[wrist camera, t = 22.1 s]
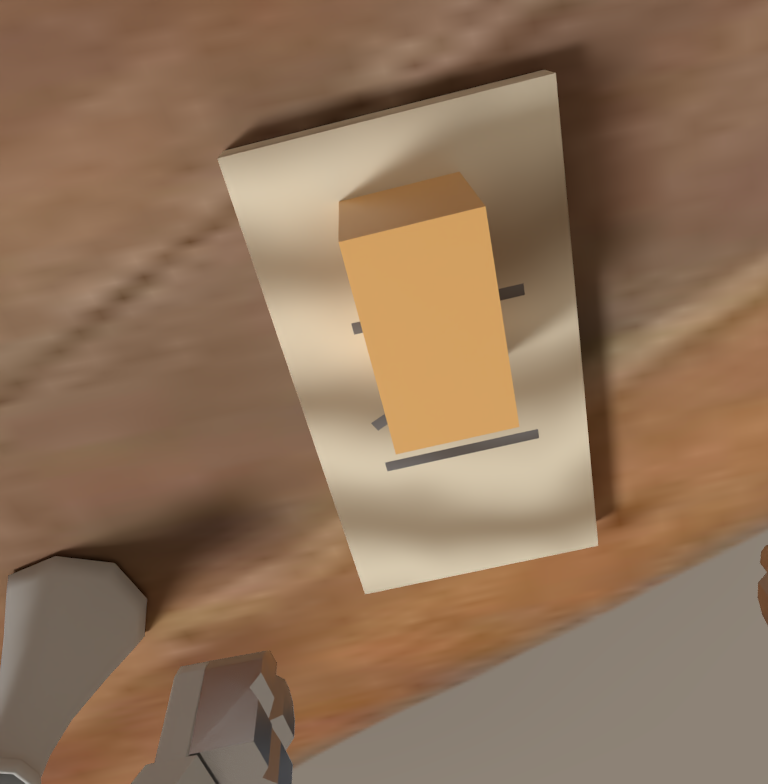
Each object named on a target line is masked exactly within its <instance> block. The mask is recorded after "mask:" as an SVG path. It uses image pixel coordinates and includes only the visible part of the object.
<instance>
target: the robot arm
mask: <svg viewBox="0 0 768 784" xmlns="http://www.w3.org/2000/svg"><path fill="white" fill-rule="evenodd" d="M760 563H761V565H762V566H763V567H764V569H765V570H766V571H767V573H766V574H765V575H764V577H763V578H762V579H761V580H760V581H759V582H758V600H759V603H760V608H761V611H762V615H763V617H764V619H765V621H766V623H767V624H768V545H766V546H765V547H764V549H763V550H762V552H761V560H760ZM276 669H277V662H276V660H275V658H274V657H273V655H272V653H271V651H262V652H257V653H251V654H246V655H240V656H235V657H229V658H223V659H218V660H212V661H208V662H203V663H197V664H192V665H187V666H182V667H180V669H179V670H178V672H177V674H176V675H175V677H174V682H173V686H172V690H171V694H170V699H169V703H168V707H167V712H166V716H165V720H164V724H163V729H162V733H161V737H160V741H159V746H158V750H157V754H156V758H155V763H152V764H148V765H145V767H144V768H143V769H142V770H141V772H140V773H139V774H138V775H137V777H136V778H135V779H134V780H133V782H132V783H131V784H292V769H293V764H292V762H291V760H290V758H289V756H288V754H287V752H286V749H287V748H288V746H289V745H290V743H291V742H292V740H293V739H294V726H295V718H294V709H293V701H292V697H291V693H290V690H289V687H288V685H287V683H286V681H285V679H283V678H281V677H279V676H277V675H276Z"/></svg>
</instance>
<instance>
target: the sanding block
mask: <svg viewBox="0 0 768 784" xmlns="http://www.w3.org/2000/svg"><path fill="white" fill-rule="evenodd" d="M338 242H339V246H340V250H341V254H342V257H343V261H344V265H345V268H346V272H347V276H348V279H349V283H350V287H351V290H352V294H353V298H354V302H355V305H356V309H357V313H358V316H359V320H360V324H361V327H362V331H363V335H364V338H365V342H366V346H367V350H368V353H369V357H370V361H371V364H372V368H373V372H374V375H375V379H376V383H377V386H378V390H379V394H380V398H381V401H382V405H383V409H384V412H385V416H386V420H387V423H388V427H389V431H390V434H391V438H392V442H393V446H394V449H395V453H396V454H400V453H405V452H409V451H414V450H418V449H423V448H427V447H432V446H436V445H441V444H445V443H450V442H454V441H459V440H463V439H468V438H472V437H476V436H481V435H485V434H490V433H494V432H499V431H503V430H508V429H512V428H517V427H519V420H518V414H517V407H516V401H515V394H514V388H513V381H512V375H511V368H510V362H509V355H508V349H507V342H506V336H505V329H504V323H503V316H502V310H501V303H500V297H499V290H498V284H497V277H496V271H495V264H494V258H493V251H492V245H491V238H490V232H489V225H488V219H487V212H486V206H485V205H484V204H483V202H482V201H481V200H480V198H479V197H478V196H477V194H476V193H475V192H474V190H473V189H472V188H471V186H470V185H469V184H468V182H467V181H466V180H465V178H464V177H463V176H462V174H461V173H460V172H456V173H452V174H448V175H444V176H440V177H436V178H432V179H428V180H424V181H420V182H416V183H412V184H408V185H404V186H400V187H396V188H392V189H388V190H384V191H380V192H376V193H372V194H368V195H363V196H359V197H355V198H351V199H347V200H343V201H339V231H338Z"/></svg>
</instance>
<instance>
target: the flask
mask: <svg viewBox="0 0 768 784" xmlns="http://www.w3.org/2000/svg"><path fill="white" fill-rule="evenodd" d="M146 609H147V598H146V597H145V596H144V595H143V594H142V593H141V592H140V590H139V589H138V588H137V587H136V586H135V585H134V584H133V583H132V582H131V580H130V579H129V578H128V577H127V576H126V575H125V574H124V573H123V572H122V570H121V569H120V568H119V567H118V566H117V565H116V564H115V563H111V562H102V561H94V560H85V559H77V558H68V557H60V556H54V557H52V558H49V559H47V560H45V561H42V562H40V563H37V564H35V565H33V566H30V567H28V568H25V569H23V570H21V571H18V572H16V573H13V574H11V575H9V576H8V584H7V595H6V611H5V627H4V641H3V650H2V659H1V669H0V784H41V776H42V774H43V771H44V769H45V766H46V764H47V762H48V759H49V757H50V755H51V753H52V751H53V750H54V748H55V746H56V745H57V743H58V741H59V740H60V738H61V737H62V735H63V733H64V732H65V730H66V728H67V727H68V725H69V723H70V722H71V720H72V719H73V718H74V717H75V715H76V714H77V713H78V712H79V711H80V709H81V708H82V707H83V706H84V705H85V704H86V702H87V701H88V700H89V699H90V698H91V696H92V695H93V694H94V693H95V692H96V690H97V689H98V688H99V687H100V686H101V685H102V683H103V682H104V681H105V680H106V679H107V678H108V676H109V675H110V674H111V673H112V672H113V671H114V670H115V669H116V668H117V667H118V666H119V664H120V663H121V662H122V661H123V660H124V659H125V658H126V657H127V656H128V655H129V653H130V652H131V651H132V650H133V649H134V648H135V647H136V646H137V644H138V643H139V642H140V641H141V640H142V639H143V637H144V636H145V622H146Z"/></svg>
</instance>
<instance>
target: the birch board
mask: <svg viewBox="0 0 768 784" xmlns="http://www.w3.org/2000/svg"><path fill="white" fill-rule="evenodd" d="M217 159H218V162H219V165H220V168H221V171H222V174H223V177H224V180H225V182H226V185H227V188H228V191H229V194H230V197H231V200H232V203H233V206H234V209H235V212H236V215H237V218H238V221H239V224H240V227H241V230H242V233H243V235H244V238H245V241H246V244H247V247H248V250H249V253H250V256H251V259H252V262H253V265H254V268H255V271H256V274H257V277H258V280H259V283H260V286H261V289H262V291H263V294H264V297H265V300H266V303H267V306H268V309H269V312H270V315H271V318H272V321H273V324H274V327H275V330H276V333H277V336H278V339H279V342H280V345H281V347H282V350H283V353H284V356H285V359H286V362H287V365H288V368H289V371H290V374H291V377H292V380H293V383H294V386H295V389H296V392H297V395H298V398H299V400H300V403H301V406H302V409H303V412H304V415H305V418H306V421H307V424H308V427H309V430H310V433H311V436H312V439H313V442H314V445H315V448H316V451H317V454H318V456H319V459H320V462H321V465H322V468H323V471H324V474H325V477H326V480H327V483H328V486H329V489H330V492H331V495H332V498H333V501H334V504H335V507H336V509H337V512H338V515H339V518H340V521H341V524H342V527H343V530H344V533H345V536H346V539H347V542H348V545H349V548H350V551H351V554H352V557H353V560H354V563H355V565H356V568H357V571H358V574H359V577H360V580H361V583H362V586H363V589H364V592H365V594H369V593H374V592H378V591H383V590H388V589H393V588H397V587H402V586H407V585H412V584H417V583H421V582H426V581H431V580H436V579H441V578H445V577H450V576H455V575H460V574H465V573H469V572H474V571H479V570H484V569H489V568H493V567H498V566H503V565H508V564H513V563H517V562H522V561H527V560H532V559H536V558H541V557H546V556H551V555H556V554H560V553H565V552H570V551H575V550H580V549H584V548H589V547H594V546H598V538H597V527H596V515H595V504H594V493H593V482H592V471H591V460H590V449H589V437H588V426H587V415H586V404H585V393H584V382H583V370H582V359H581V348H580V337H579V326H578V315H577V304H576V292H575V281H574V270H573V259H572V248H571V237H570V225H569V214H568V203H567V192H566V181H565V170H564V159H563V147H562V136H561V125H560V114H559V103H558V92H557V80H556V73H554V72H551V71H547V70H541V71H537V72H533V73H529V74H525V75H521V76H517V77H513V78H509V79H505V80H501V81H497V82H493V83H489V84H485V85H481V86H478V87H474V88H470V89H466V90H462V91H458V92H454V93H450V94H446V95H442V96H438V97H434V98H430V99H426V100H422V101H418V102H414V103H410V104H406V105H403V106H399V107H395V108H391V109H387V110H383V111H379V112H375V113H371V114H367V115H363V116H359V117H355V118H351V119H347V120H343V121H339V122H335V123H331V124H328V125H324V126H320V127H316V128H312V129H308V130H304V131H300V132H296V133H292V134H288V135H284V136H280V137H276V138H272V139H268V140H264V141H260V142H256V143H253V144H249V145H245V146H241V147H237V148H233V149H229V150H225V151H223V152H222V154H221V155H220V156H219V157H218V158H217ZM456 172H460V173H461V174H462V176H463V177H464V178H465V180H466V181H467V182H468V184H469V185H470V186H471V188H472V189H473V190H474V192H475V193H476V194H477V196H478V197H479V198H480V200H481V201H482V202H483V204H484V205H485V206H486V212H487V219H488V225H489V232H490V238H491V245H492V251H493V258H494V264H495V271H496V277H497V284H498V290H499V297H500V303H501V310H502V316H503V323H504V329H505V336H506V342H507V349H508V355H509V362H510V368H511V375H512V381H513V388H514V394H515V401H516V407H517V414H518V420H519V427H517V428H512V429H508V430H503V431H499V432H494V433H490V434H485V435H481V436H476V437H472V438H468V439H463V440H459V441H454V442H450V443H445V444H441V445H436V446H432V447H427V448H423V449H418V450H414V451H409V452H405V453H400V454H396V453H395V449H394V446H393V442H392V438H391V434H390V431H389V427H388V423H387V420H386V416H385V412H384V409H383V405H382V401H381V398H380V394H379V390H378V386H377V383H376V379H375V375H374V372H373V368H372V364H371V361H370V357H369V353H368V350H367V346H366V342H365V338H364V335H363V331H362V327H361V324H360V320H359V316H358V313H357V309H356V305H355V302H354V298H353V294H352V290H351V287H350V283H349V279H348V276H347V272H346V268H345V265H344V261H343V257H342V254H341V250H340V246H339V242H338V231H339V201H343V200H347V199H351V198H355V197H359V196H363V195H368V194H372V193H376V192H380V191H384V190H388V189H392V188H396V187H400V186H404V185H408V184H412V183H416V182H420V181H424V180H428V179H432V178H436V177H440V176H444V175H448V174H452V173H456Z"/></svg>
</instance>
